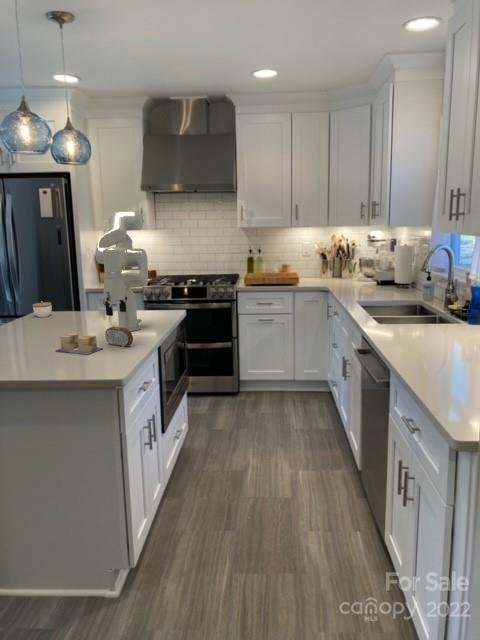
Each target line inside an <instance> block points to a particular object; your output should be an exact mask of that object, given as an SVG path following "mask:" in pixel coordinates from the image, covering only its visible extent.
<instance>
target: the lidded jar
mask: <svg viewBox="0 0 480 640" xmlns="http://www.w3.org/2000/svg"><path fill="white" fill-rule="evenodd" d="M43 301H44V300H43ZM43 301H42V300H41V301H40V302H37V303H34V304H32V309H33V310H32V311H33V314H34V315H35V316H37V318H47V317H49V316H50V315H51V313H52V310H53V309H52V307H53V306H52V305H53V304H52V302H48V301H47V302H45V301H44V302H43Z"/></svg>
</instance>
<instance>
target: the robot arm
mask: <svg viewBox="0 0 480 640" xmlns="http://www.w3.org/2000/svg"><path fill="white" fill-rule="evenodd" d="M143 228H144V219H143V216H142V215H141V213H140V212H138V211H135V210H120V211H118V210H117V211H115V212H112V213H111V214H110V216H109V217H108V230H107V232H106V233H104V234H103V235H102V236H101V237H99V239H98V240H97V242H96V246H95V254H94V255H95V256H94V257H95V261H96V262H97V263H98V264H101V265H103V266H104V267H103V270H104V280H103V296H102V297H101V301H102V302H103V303H102V304H103V305H104V307H105V315H106V316H110V317H111V316H113V315H114V312H113V306H112V305H113V302H114V303H115V302H116V307H117V308H116V309H117V320H118V326H117V327H120V328H126V329H128V330H129V331H130V332H135V331H139V330H141V329H142V328H141V325H139V324H140V323H142V319H141V318H138V315H137V314H138V313H137V302H136V295H135V293H134V291H133V290H132V289H131V288H143V287H146V286H148V284H149V271H148V270H149V265H148V262H149V261H148V254H147V251H146V249H143V248H133V240H132V238H131V236H130V235H129V234H128V233H127V232H128V231H141V230H142V229H143Z"/></svg>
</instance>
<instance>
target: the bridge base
mask: <svg viewBox="0 0 480 640" xmlns="http://www.w3.org/2000/svg"><path fill="white" fill-rule="evenodd" d="M59 338H60V339H59V340H60V348H58V349H56V350H55V353H56V352H57V353H64V354H74V355H82V356H83V355H84V356H89V355H92V354H95V353H96V352H99V351H100V352H101V351H102V350H104V349H103V347H98V345H97V343H98V342H97V336H96V335H91V334H85V335H83V336H79V334H78V333H67V334H63V335H60V336H59Z"/></svg>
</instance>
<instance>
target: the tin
mask: <svg viewBox="0 0 480 640" xmlns="http://www.w3.org/2000/svg"><path fill="white" fill-rule="evenodd" d="M105 340H106V342H107V343H108V344H110V345H112V346H116V347H122V346H124V347H125V348H126V347H129V346H131V345H132V344H133V340H134V336H133V334H132V331H129V330H128V329H126V328H120V327H118V326H111V327H109V328H107V329H106V330H105ZM124 347H123V348H124Z"/></svg>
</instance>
